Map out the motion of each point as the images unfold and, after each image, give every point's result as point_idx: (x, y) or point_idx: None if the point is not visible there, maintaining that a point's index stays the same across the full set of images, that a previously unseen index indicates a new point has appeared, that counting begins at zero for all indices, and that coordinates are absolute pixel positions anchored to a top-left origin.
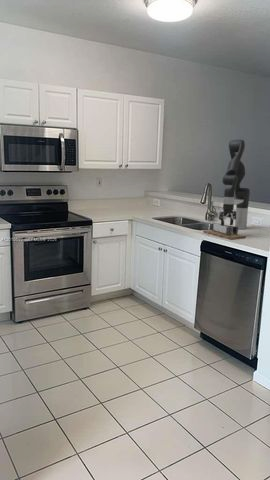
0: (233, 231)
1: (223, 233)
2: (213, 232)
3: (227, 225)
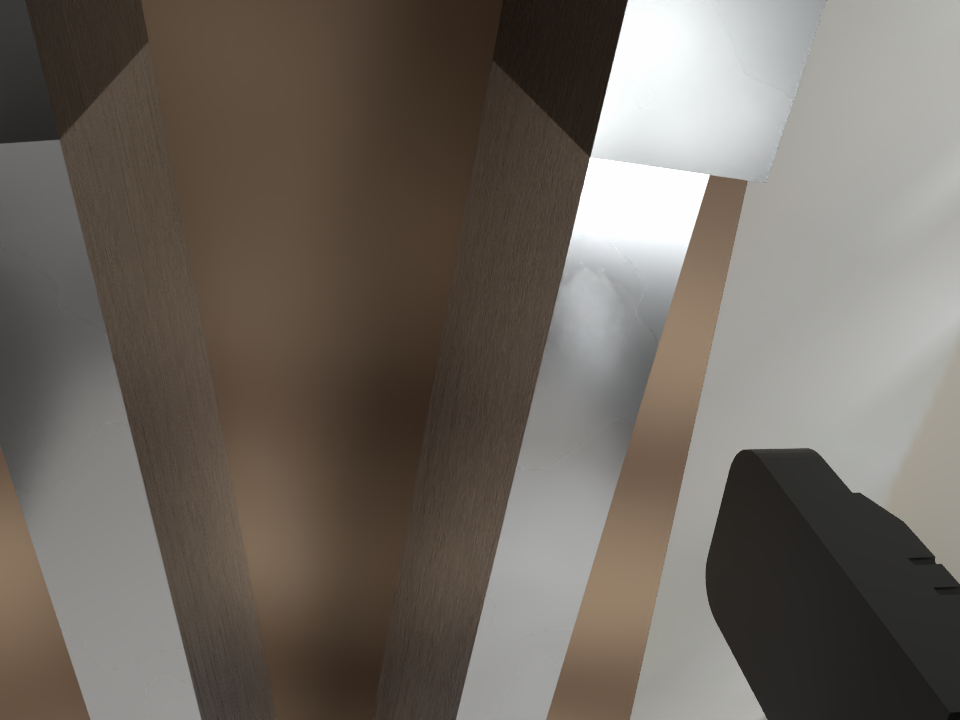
0: (121, 18)
1: (362, 422)
2: None
3: (176, 627)
